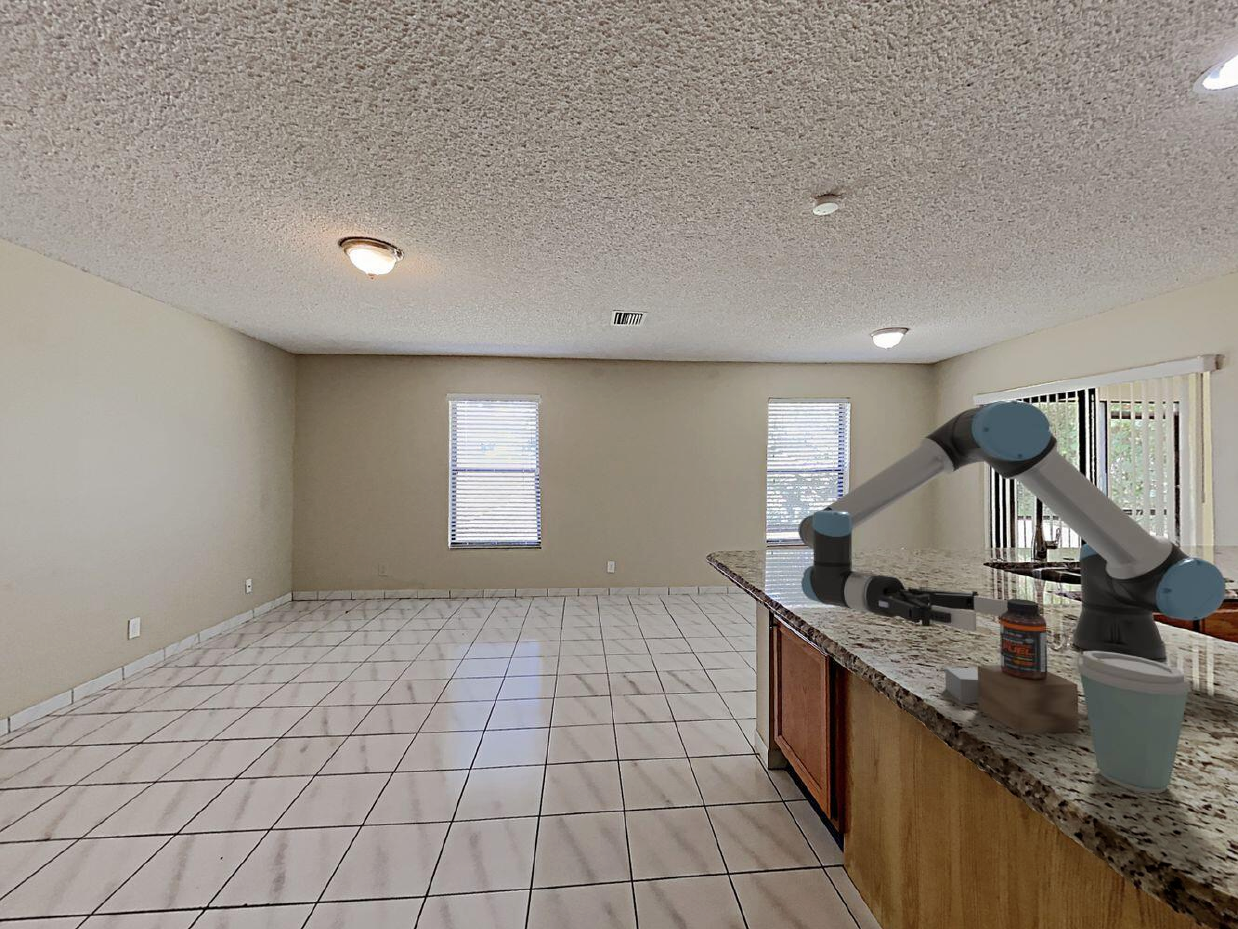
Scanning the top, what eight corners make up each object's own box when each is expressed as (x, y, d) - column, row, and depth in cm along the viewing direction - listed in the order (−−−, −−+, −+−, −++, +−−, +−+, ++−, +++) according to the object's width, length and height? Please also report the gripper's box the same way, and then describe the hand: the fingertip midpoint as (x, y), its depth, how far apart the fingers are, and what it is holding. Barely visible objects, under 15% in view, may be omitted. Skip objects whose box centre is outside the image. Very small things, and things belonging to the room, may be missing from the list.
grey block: (982, 691, 101) (981, 668, 101) (1000, 704, 95) (999, 680, 95) (945, 690, 101) (945, 667, 102) (961, 703, 96) (960, 679, 96)
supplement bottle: (997, 674, 88) (995, 601, 89) (1004, 665, 93) (1002, 595, 93) (1045, 684, 84) (1043, 607, 84) (1050, 673, 89) (1048, 600, 89)
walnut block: (1032, 707, 93) (1031, 664, 93) (1079, 732, 84) (1077, 684, 84) (978, 709, 93) (977, 665, 93) (1019, 733, 84) (1017, 685, 84)
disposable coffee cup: (1128, 757, 76) (1125, 644, 77) (1223, 802, 65) (1218, 671, 66) (1057, 763, 75) (1054, 648, 75) (1141, 810, 64) (1137, 676, 65)
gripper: (913, 605, 116) (1032, 628, 98) (834, 623, 103) (956, 652, 85) (912, 568, 116) (1031, 584, 98) (833, 581, 103) (954, 602, 85)
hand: (996, 616), depth 92 cm, fingers open, 13 cm apart
